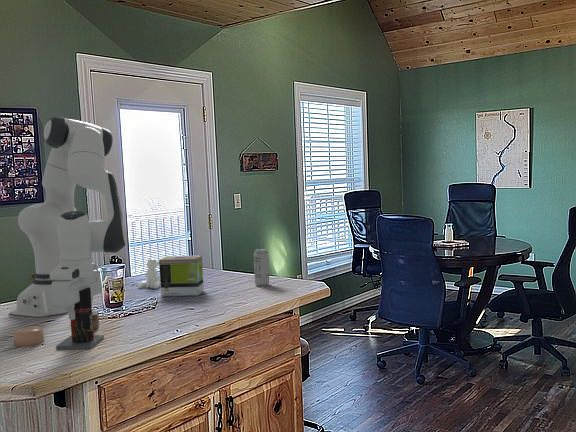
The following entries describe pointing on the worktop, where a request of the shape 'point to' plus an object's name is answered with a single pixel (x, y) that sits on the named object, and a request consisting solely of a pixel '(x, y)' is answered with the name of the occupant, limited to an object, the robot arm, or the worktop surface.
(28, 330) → the soap bar
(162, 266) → the tea box
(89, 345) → the slate coaster
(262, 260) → the energy drink can
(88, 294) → the deodorant
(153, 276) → the seated beast figurine
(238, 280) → the worktop surface
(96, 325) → the walnut block
